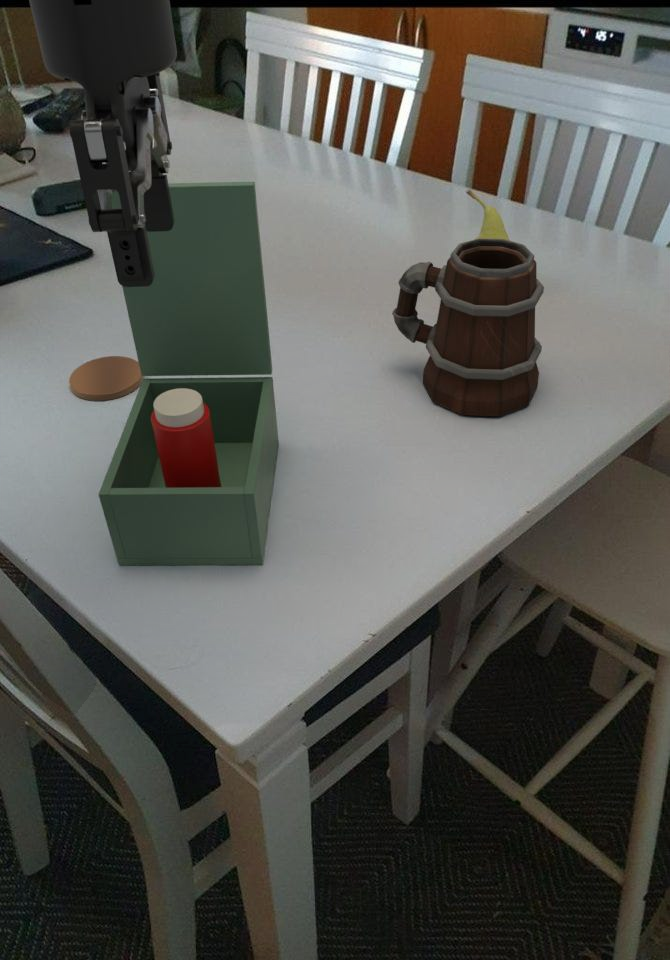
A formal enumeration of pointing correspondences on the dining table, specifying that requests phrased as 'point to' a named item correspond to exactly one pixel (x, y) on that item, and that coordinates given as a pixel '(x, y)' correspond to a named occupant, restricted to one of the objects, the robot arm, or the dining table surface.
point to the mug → (477, 326)
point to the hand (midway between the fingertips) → (149, 255)
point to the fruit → (490, 221)
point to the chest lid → (203, 287)
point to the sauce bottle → (185, 440)
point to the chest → (201, 510)
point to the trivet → (106, 378)
